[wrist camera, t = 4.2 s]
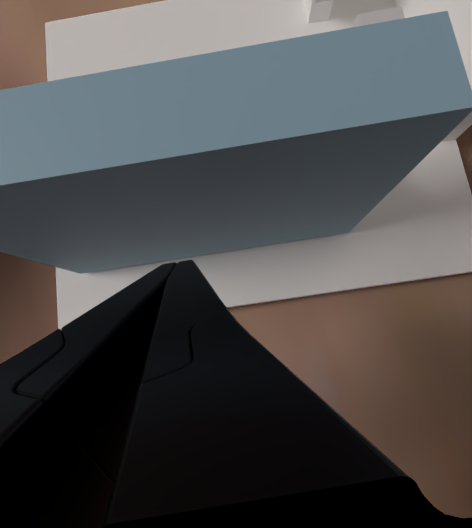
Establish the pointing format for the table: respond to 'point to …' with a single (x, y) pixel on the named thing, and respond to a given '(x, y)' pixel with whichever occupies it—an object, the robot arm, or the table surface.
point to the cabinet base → (295, 252)
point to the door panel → (225, 144)
